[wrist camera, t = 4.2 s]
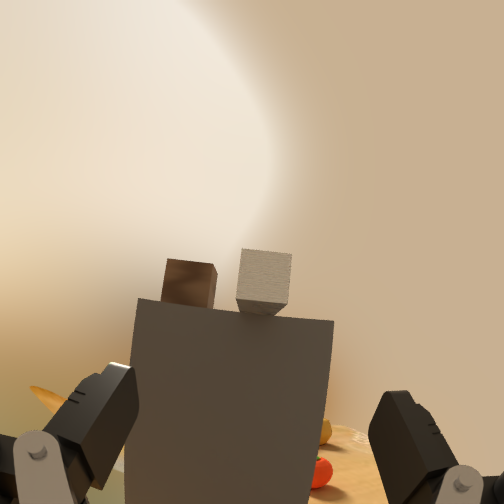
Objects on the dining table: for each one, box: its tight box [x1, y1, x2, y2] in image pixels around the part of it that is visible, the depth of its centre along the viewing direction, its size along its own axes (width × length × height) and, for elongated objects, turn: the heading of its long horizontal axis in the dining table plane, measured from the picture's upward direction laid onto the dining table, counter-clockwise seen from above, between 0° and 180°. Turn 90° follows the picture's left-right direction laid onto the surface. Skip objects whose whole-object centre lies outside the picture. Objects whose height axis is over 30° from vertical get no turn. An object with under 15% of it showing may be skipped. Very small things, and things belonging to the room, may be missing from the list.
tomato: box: [311, 456, 333, 488], centre depth 47 cm, size 8×7×7 cm
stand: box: [124, 298, 334, 504], centre depth 28 cm, size 18×11×32 cm, turn 91°
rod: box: [236, 249, 292, 316], centre depth 31 cm, size 3×28×3 cm, turn 1°
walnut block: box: [160, 259, 218, 309], centre depth 34 cm, size 5×5×5 cm
